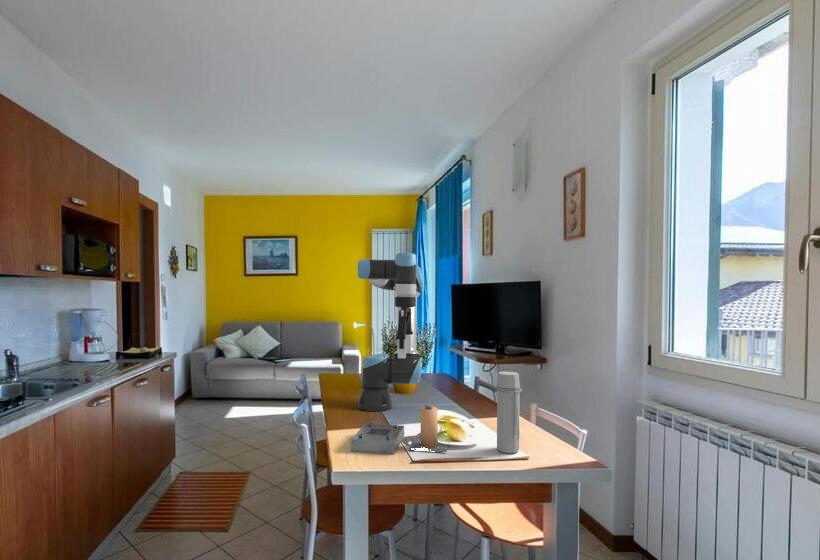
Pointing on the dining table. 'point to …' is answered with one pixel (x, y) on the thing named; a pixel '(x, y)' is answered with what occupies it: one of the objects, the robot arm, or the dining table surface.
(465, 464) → the dining table surface
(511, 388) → the water bottle
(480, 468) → the dining table surface
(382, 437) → the housing
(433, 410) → the tan cylinder
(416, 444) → the pad
